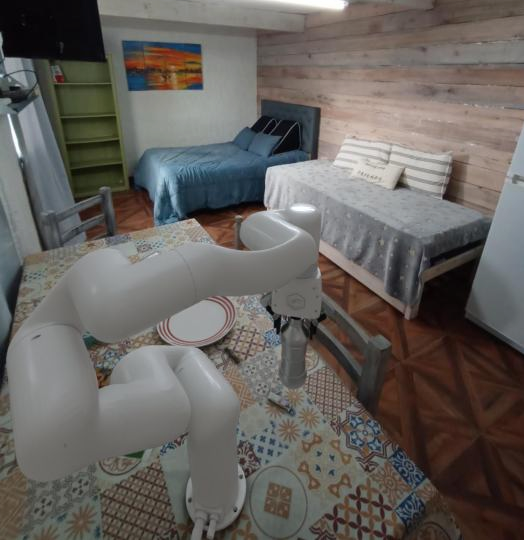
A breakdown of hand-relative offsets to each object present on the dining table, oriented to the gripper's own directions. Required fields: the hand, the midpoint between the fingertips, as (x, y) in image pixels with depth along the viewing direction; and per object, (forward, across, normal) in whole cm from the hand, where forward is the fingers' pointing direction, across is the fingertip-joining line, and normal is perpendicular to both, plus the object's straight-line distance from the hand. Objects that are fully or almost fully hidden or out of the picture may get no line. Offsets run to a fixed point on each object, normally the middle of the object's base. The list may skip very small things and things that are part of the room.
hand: (294, 332), depth 70 cm
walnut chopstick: (+29, -20, +16) cm, 39 cm away
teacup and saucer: (+30, -66, +53) cm, 90 cm away
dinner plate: (+30, -35, +27) cm, 54 cm away
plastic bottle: (+15, 0, 0) cm, 15 cm away
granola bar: (+30, -3, +4) cm, 30 cm away
